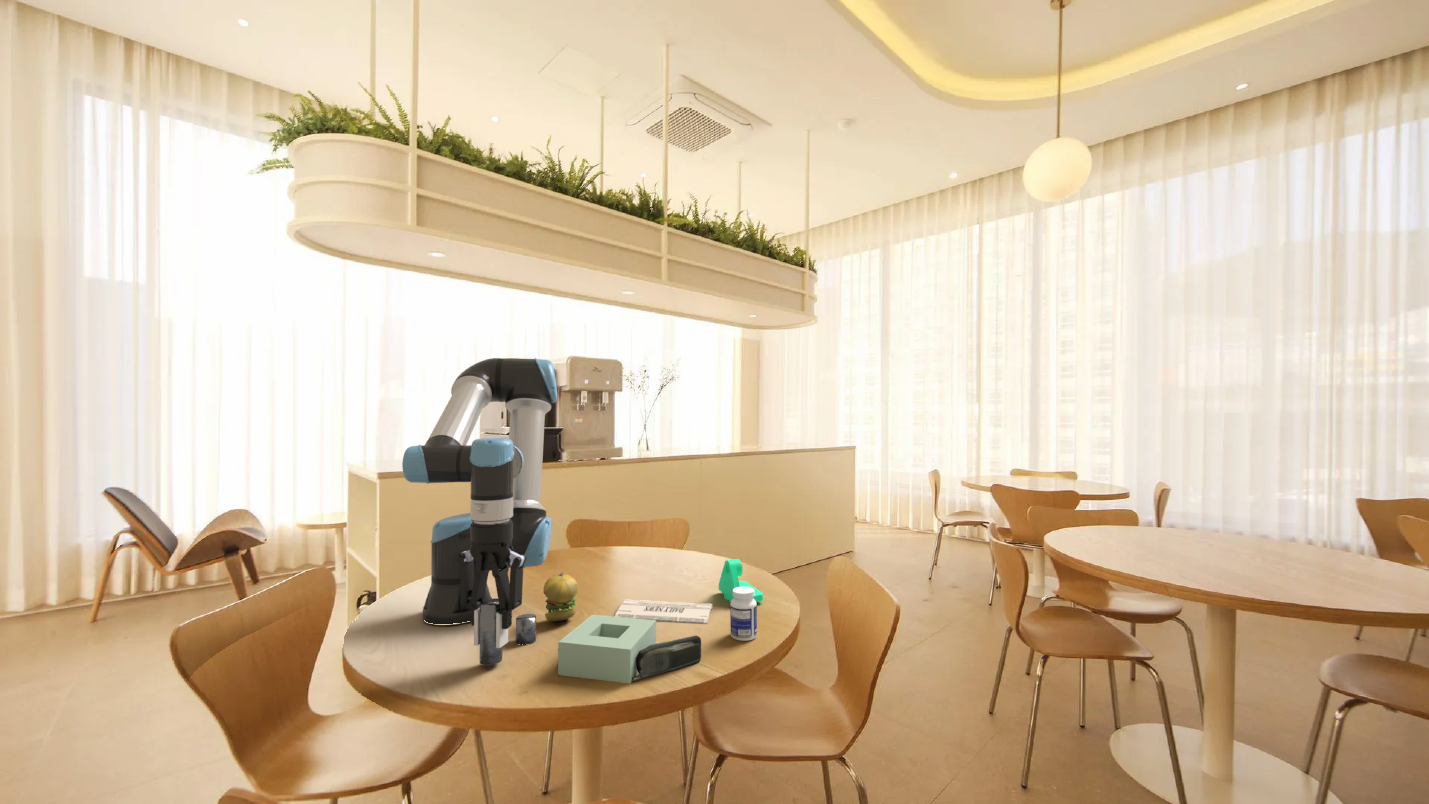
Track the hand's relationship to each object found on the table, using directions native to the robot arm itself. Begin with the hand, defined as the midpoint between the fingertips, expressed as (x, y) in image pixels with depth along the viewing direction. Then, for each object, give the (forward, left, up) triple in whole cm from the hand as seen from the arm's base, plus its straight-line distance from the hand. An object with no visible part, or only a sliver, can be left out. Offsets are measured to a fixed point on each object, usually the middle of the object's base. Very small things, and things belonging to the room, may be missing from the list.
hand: (491, 643), depth 105 cm
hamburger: (+2, +23, -4) cm, 23 cm away
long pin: (0, 0, -3) cm, 3 cm away
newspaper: (+23, +35, -5) cm, 42 cm away
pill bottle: (+44, +25, -4) cm, 51 cm away
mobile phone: (+33, +6, -5) cm, 34 cm away
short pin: (0, +12, -4) cm, 12 cm away
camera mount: (+39, +48, -5) cm, 62 cm away
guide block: (+21, +7, -4) cm, 23 cm away
